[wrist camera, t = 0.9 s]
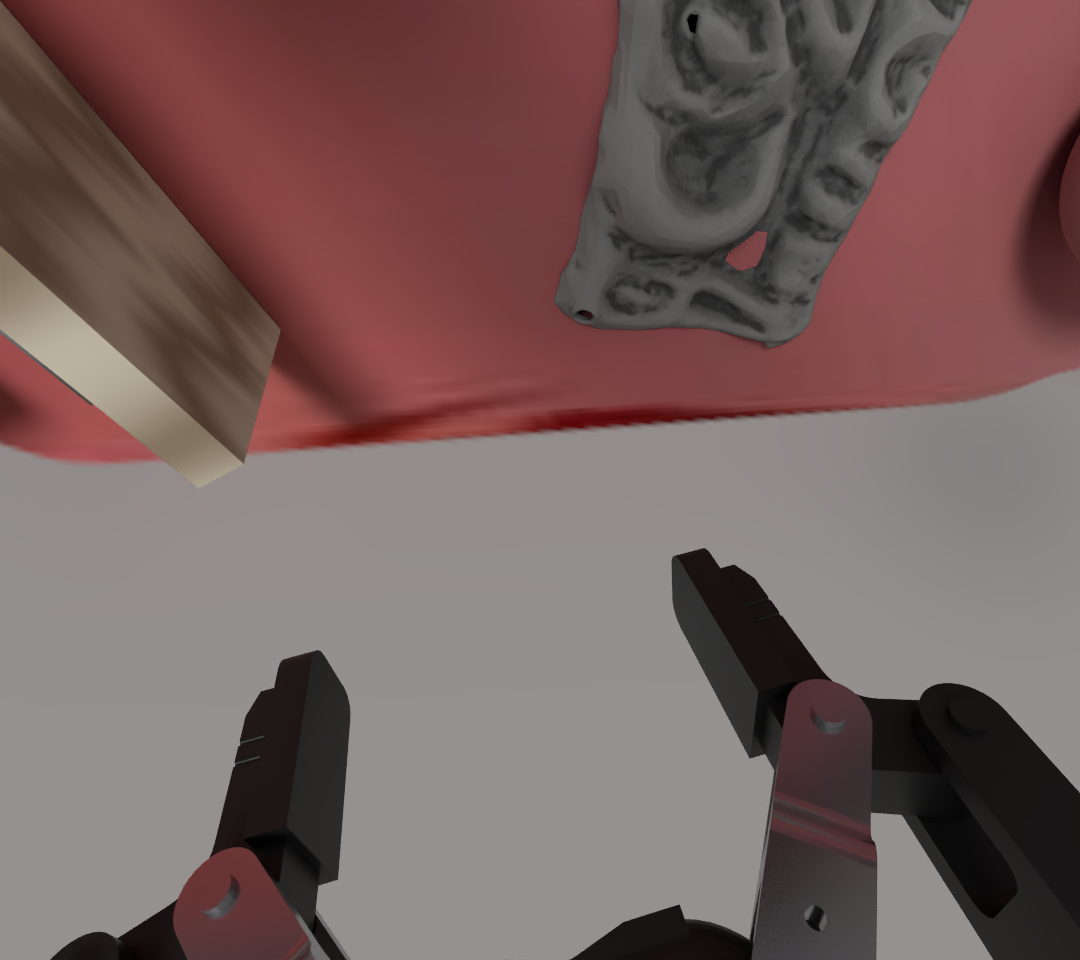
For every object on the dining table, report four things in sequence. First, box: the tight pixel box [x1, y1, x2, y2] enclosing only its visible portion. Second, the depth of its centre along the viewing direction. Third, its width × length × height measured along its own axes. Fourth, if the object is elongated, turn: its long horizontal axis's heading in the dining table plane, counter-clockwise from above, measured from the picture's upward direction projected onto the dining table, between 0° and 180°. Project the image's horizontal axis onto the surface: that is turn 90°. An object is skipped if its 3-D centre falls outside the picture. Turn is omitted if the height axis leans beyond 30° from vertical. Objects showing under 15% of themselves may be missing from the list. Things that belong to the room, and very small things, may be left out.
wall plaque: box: [554, 0, 972, 348], centre depth 28 cm, size 24×19×4 cm
